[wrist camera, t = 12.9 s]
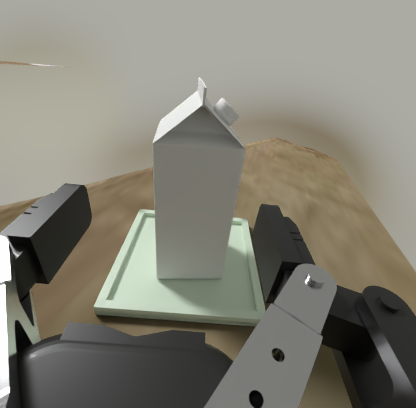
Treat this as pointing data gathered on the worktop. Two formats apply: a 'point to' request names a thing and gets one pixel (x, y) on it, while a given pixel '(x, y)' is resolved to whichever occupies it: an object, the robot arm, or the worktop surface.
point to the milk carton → (195, 187)
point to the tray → (182, 282)
